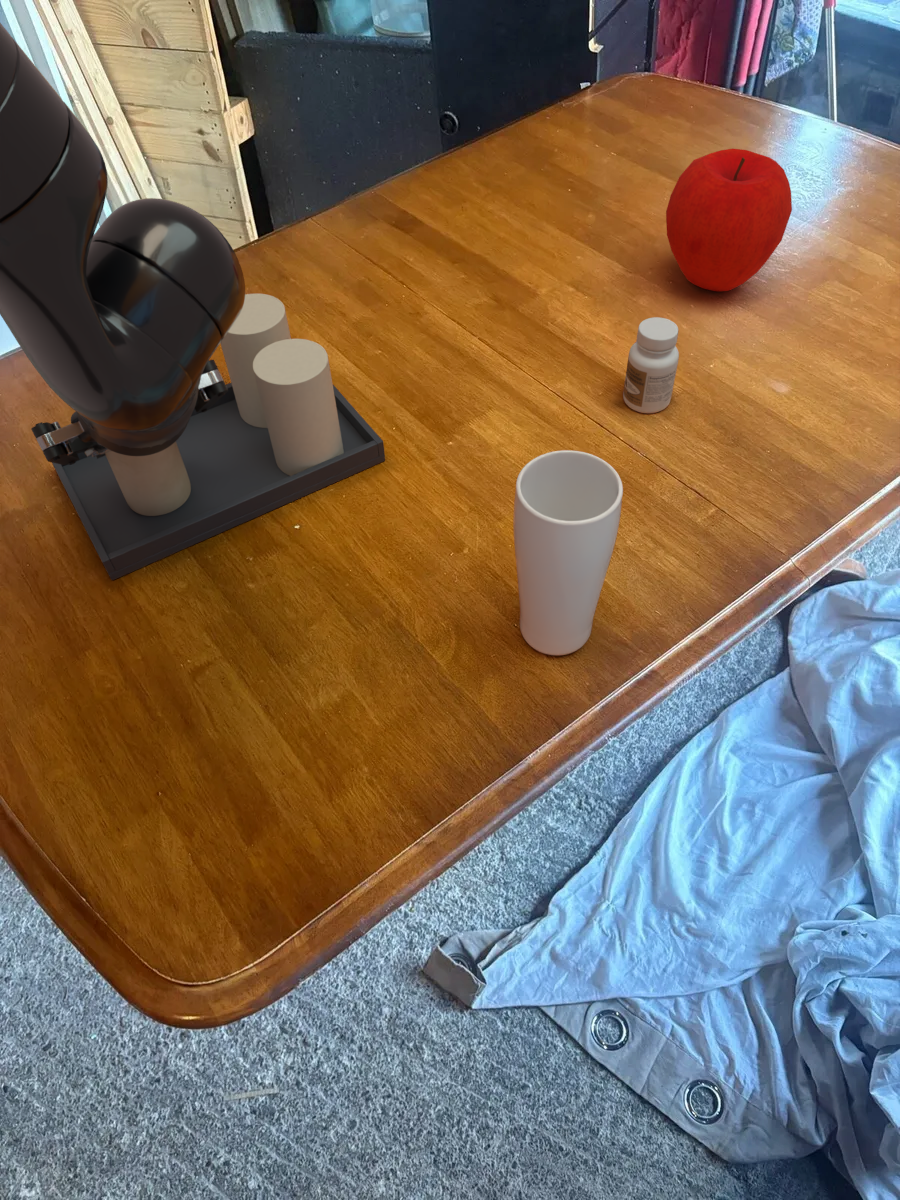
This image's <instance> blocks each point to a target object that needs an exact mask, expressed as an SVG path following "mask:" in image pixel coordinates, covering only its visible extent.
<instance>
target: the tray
mask: <svg viewBox="0 0 900 1200" xmlns="http://www.w3.org/2000/svg"><path fill="white" fill-rule="evenodd" d="M225 385H226V387H227V389H228V392H227V393H226V394H225V395H223V396H222V397H221V398H220V399H219V400H218V401H217V402H216V403H215V404H214V405H213V406H212V407H211V408H209V409H208V411H206V412H204V413H202V412H199V413H197V412H196V410H195V408H194V410H193V412H192V415H191V417H190V419H189V422H188V424H187V426H186V428H185V430H184V432H183V433H182V435H181V436H180V437H179V438H178V440H177V441H176V443H177V446H178V449H179V452H180V455H181V457H182V460H183V463H184V466H185V469H186V471H187V474H188V477H189V480H190V484H191V492H190V495H189V497H188V499H187V500H186V502H185V503H184V504H183V505H182V506H180V507H179V508H177V509H176V510H174V511H172V512H169V513H167V514H163V515H158V516H145V515H141V514H138V513H136V512H135V511H133V510H132V509H131V508H130V506H129V505H128V504H127V502H126V500H125V497H124V495H123V493H122V491H121V489H120V486H119V484H118V482H117V480H116V477H115V475H114V473H113V471H112V468H111V466H110V464H109V462H108V459H107V457H106V455H105V456H103V457H100V458H98V459H97V457H96V456H95V457H92V456H91V457H87V456H86V455H85V453H84V452H82V453H79V454H77V455H78V457H79V460H77V461H75V462H76V463H74V464H72V465H69V464H67V465H61V464H57V463H52V462H51V464H52V466H53V468H54V470H55V472H56V474H57V476H58V478H59V480H60V482H61V483H62V485H63V487H64V490H65V491H66V493H67V496H68V497H69V499H70V502H71V503H72V505H73V507H74V510H75V511H76V513H77V516H78V517H79V519H80V521H81V523H82V525H83V527H84V530H85V531H86V533H87V535H88V538H89V539H90V542H91V543H92V545H93V547H94V548H95V551H96V553H97V555H98V557H99V559H100V561H101V563H102V565H103V566H104V568H105V571H106V573H107V575H108V576H109V578H110V580H111V581H114V580H117V579H119V578H122V577H124V576H126V575H128V574H131V573H133V572H135V571H137V570H140V569H142V568H144V567H147V566H149V565H151V564H153V563H156V562H158V561H160V560H163V559H164V558H167V557H170V556H171V555H174V554H176V553H179V552H180V551H183V550H185V549H187V548H191V547H193V546H194V545H196V544H199V543H201V542H203V541H206V540H207V539H210V538H212V537H215V536H217V535H219V534H221V533H224V532H226V531H229V530H231V529H233V528H235V527H238V526H240V525H242V524H245V523H247V522H249V521H251V520H254V519H255V518H258V517H260V516H262V515H265V514H267V513H269V512H271V511H274V510H276V509H278V508H281V507H283V506H285V505H288V504H289V503H292V502H294V501H296V500H299V499H302V498H303V497H306V496H308V495H311V494H312V493H315V492H317V491H319V490H322V489H324V488H326V487H329V486H331V485H334V484H336V483H337V482H340V481H342V480H344V479H347V478H349V477H351V476H354V475H356V474H358V473H360V472H363V471H365V470H367V469H370V468H372V467H374V466H377V465H379V464H381V463H384V462H385V461H386V455H385V454H386V453H385V452H386V451H385V445H384V440H383V439H382V438H381V437H380V436H379V435H378V433H376V431H375V430H374V429H373V428H372V427H371V426H370V424H369V423H368V422H367V421H366V420H365V418H363V416H362V415H361V414H360V413H359V412H358V411H357V409H356V408H355V407H353V405H352V404H351V403H350V402H349V401H348V399H347V398H346V397H345V396H344V394H342V393H341V392H340V391H339V389H338V388H337V387H336V386H335V384H333V390H334V396H335V402H336V408H337V414H338V420H339V426H340V432H341V438H342V444H343V450H344V453H343V454H341V455H338V456H336V457H334V458H332V459H329V460H327V461H325V462H322V463H320V464H318V465H315V466H313V467H311V468H308V469H306V470H304V471H301V472H299V473H297V474H294V475H292V476H289V475H287V474H285V473H284V472H283V471H281V470H280V468H279V467H278V465H277V463H276V459H275V455H274V451H273V447H272V443H271V439H270V435H269V431H268V428H259V427H255V426H252V425H250V424H248V423H246V422H245V421H244V420H243V419H242V417H241V416H240V413H239V409H238V405H237V402H236V398H235V394H234V391H233V387H232V383H231V382H229V383H227V384H226V383H225Z"/></svg>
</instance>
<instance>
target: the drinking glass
mask: <svg viewBox="0 0 900 1200" xmlns="http://www.w3.org/2000/svg"><path fill="white" fill-rule="evenodd" d="M623 494H624V485H623V481H622V479H621V476H620V475H619V473H618V472H617V470H616V469H615V468H614V467H613V466H612V465H611V464H610V463H609V462H607V461H606V460H604V459H603V458H601V457H599V456H597V455H595V454H592V453H588V452H585V451H581V450H574V449H573V450H570V449H563V450H562V449H561V450H554V451H549V452H546V453H543V454H540V455H538V456H536V457H534V458H533V459H531V460H530V461H528V462H527V463H526V464H525V465H523V467H522V468H521V470H520V471H519V473H518V475H517V477H516V482H515V492H514V500H513V501H514V502H513V515H512V516H513V519H512V521H513V522H512V523H513V526H512V527H513V529H512V531H513V542H514V543H513V544H514V545H513V546H514V555H515V567H516V577H517V590H518V599H519V600H518V601H519V629H520V633H521V635H522V638H523V639H524V640H525V642H526V643H527V644H528V645H529V646H530V647H531V648H532V649H534V650H535V651H537V652H539V653H541V654H545V655H548V656H566V655H569V654H572V653H575V652H576V651H578V650H580V649H581V648H582V647H583V646H584V645H585V644H586V643H587V642H588V640H589V639H590V636H591V634H592V629H593V624H594V618H595V614H596V610H597V607H598V604H599V601H600V596H601V594H602V590H603V587H604V583H605V580H606V577H607V573H608V569H609V566H610V563H611V559H612V556H613V554H614V549H615V546H616V542H617V538H618V532H619V528H620V523H621V515H622V505H623Z"/></svg>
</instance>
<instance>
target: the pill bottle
mask: <svg viewBox="0 0 900 1200" xmlns="http://www.w3.org/2000/svg"><path fill="white" fill-rule="evenodd" d="M678 336H679V327H678V325H677V324H676V322H674V321H672V319H668V318H666V317H661V316H660V317H659V316H653V317H649V318H646V319H644V320H642V321H641V322H640V323H639V325H638V328H637V333H636V341H635V342H634V343H633V344H632V345H631V346H630V349H629V352H628V355H627V356H628V357H627V363H626V372H625V379H624V385H623V391H622V397H623V398H622V399H623V401H624V403H625V404H626V406H627V407H628V408H630V409H631V410H633V411H635V412H638V413H641V414H656V413H658V412H661V411H663V410H665V409H667V408H668V407H669V405H670V403H671V400H672V396H673V390H674V386H675V380H676V375H677V370H678V365H679V360H680V359H679V358H680V352H679V349H678V347H677V343H678V338H679V337H678Z"/></svg>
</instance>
